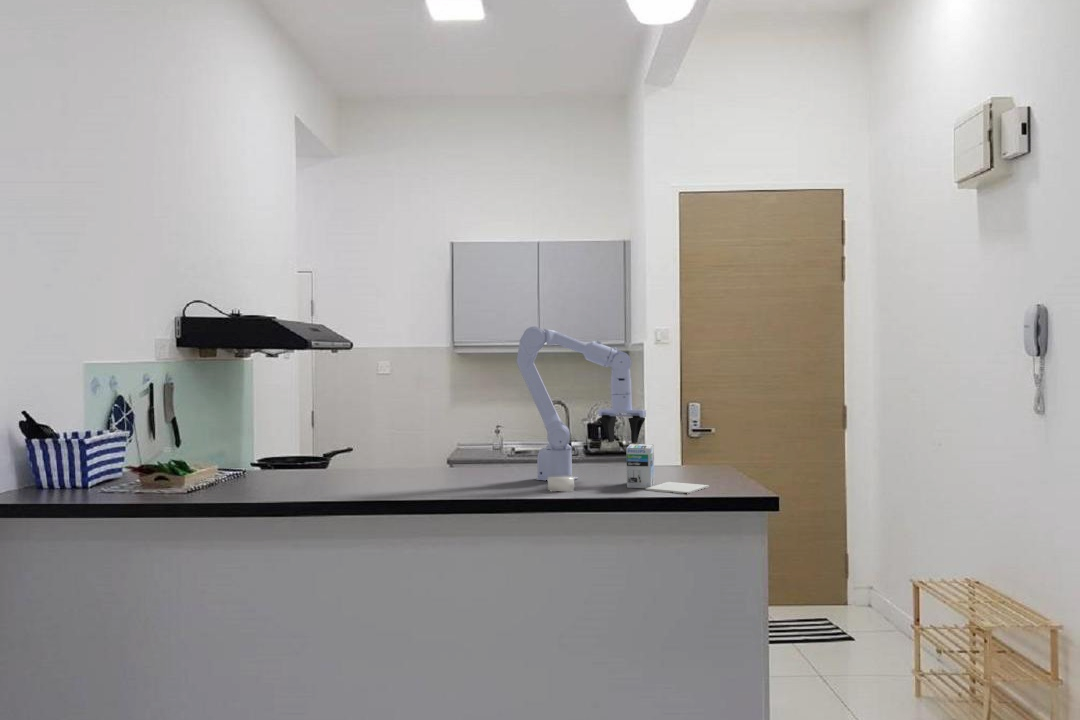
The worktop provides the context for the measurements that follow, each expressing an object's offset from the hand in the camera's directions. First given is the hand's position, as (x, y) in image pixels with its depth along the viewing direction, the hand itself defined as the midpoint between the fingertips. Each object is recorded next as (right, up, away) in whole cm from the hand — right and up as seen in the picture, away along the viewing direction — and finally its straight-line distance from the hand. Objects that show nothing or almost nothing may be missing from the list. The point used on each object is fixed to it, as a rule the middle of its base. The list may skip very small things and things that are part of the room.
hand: (622, 442), depth 249 cm
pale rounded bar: (-18, -11, -16) cm, 27 cm away
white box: (+13, -11, -17) cm, 24 cm away
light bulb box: (+4, -11, -11) cm, 16 cm away
